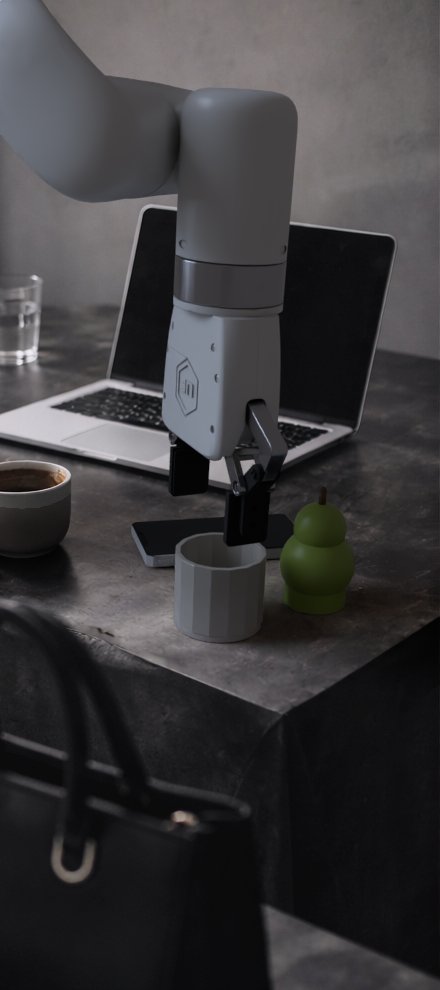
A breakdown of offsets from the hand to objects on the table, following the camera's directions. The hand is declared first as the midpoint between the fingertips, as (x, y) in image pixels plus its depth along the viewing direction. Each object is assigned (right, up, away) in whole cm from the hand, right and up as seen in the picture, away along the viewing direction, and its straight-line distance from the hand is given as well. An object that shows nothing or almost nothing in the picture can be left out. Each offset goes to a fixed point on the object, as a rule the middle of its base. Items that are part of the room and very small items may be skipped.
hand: (214, 517), depth 73 cm
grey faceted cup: (0, -8, +3) cm, 9 cm away
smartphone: (0, -3, +16) cm, 17 cm away
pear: (+8, -7, +7) cm, 13 cm away
